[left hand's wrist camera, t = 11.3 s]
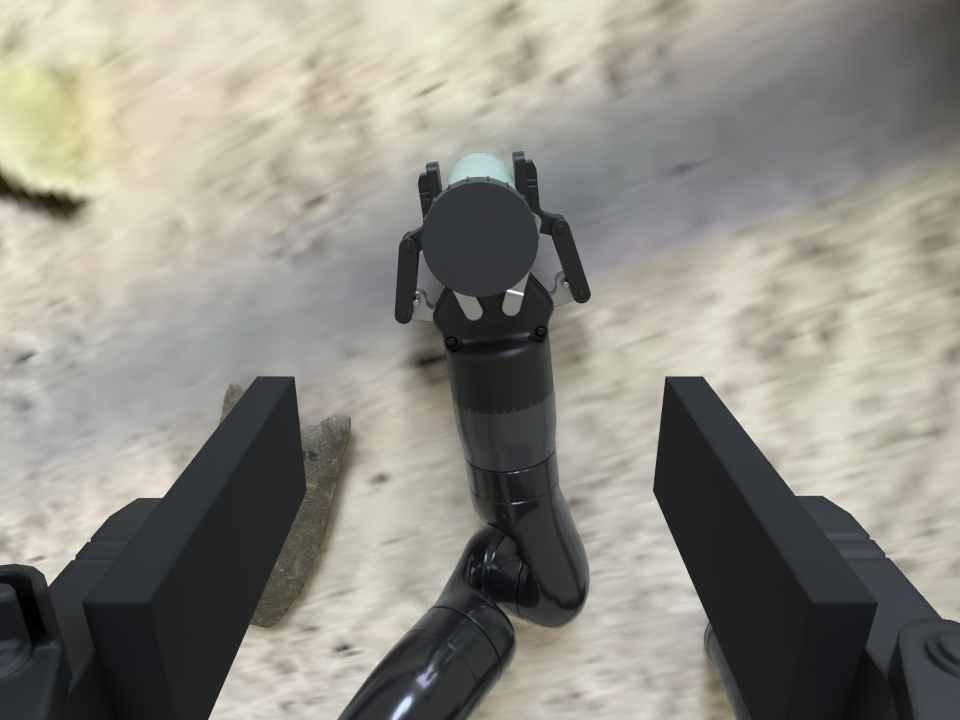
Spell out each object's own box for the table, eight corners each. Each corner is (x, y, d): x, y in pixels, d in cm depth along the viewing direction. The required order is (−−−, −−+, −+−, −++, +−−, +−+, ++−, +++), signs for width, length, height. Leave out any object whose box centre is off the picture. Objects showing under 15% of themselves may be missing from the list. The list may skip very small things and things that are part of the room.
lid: (524, 163, 33) (527, 168, 31) (545, 276, 35) (548, 286, 33) (411, 188, 33) (407, 193, 32) (438, 298, 35) (436, 309, 34)
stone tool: (228, 373, 56) (189, 603, 65) (215, 388, 53) (177, 625, 62) (358, 407, 57) (302, 628, 66) (352, 422, 54) (294, 650, 63)
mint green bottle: (506, 146, 49) (520, 177, 32) (518, 213, 51) (539, 277, 33) (440, 160, 50) (418, 199, 32) (454, 226, 52) (441, 297, 34)
